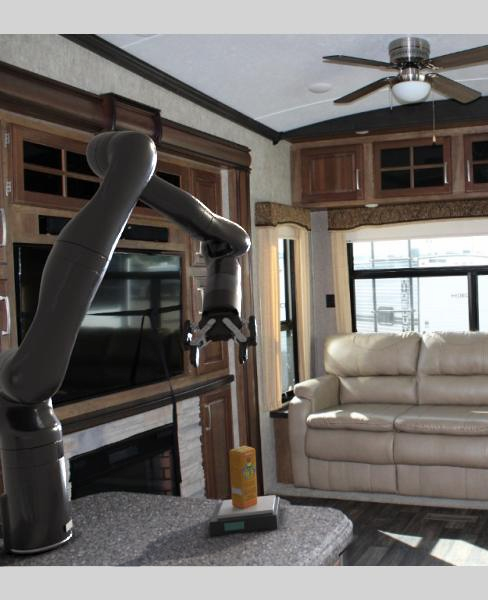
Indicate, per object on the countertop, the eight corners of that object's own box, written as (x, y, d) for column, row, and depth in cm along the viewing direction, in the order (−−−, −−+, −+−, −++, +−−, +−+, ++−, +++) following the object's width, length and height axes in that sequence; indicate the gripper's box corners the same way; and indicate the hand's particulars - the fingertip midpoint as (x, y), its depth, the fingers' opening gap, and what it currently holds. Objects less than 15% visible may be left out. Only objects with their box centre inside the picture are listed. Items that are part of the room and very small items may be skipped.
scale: (210, 536, 111) (208, 519, 111) (218, 516, 120) (216, 500, 120) (277, 529, 113) (276, 511, 113) (280, 509, 122) (278, 493, 122)
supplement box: (244, 510, 114) (240, 452, 114) (231, 506, 116) (227, 449, 116) (259, 503, 117) (255, 447, 116) (246, 500, 119) (242, 444, 118)
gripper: (182, 289, 134) (175, 353, 123) (255, 285, 136) (254, 348, 125) (189, 314, 139) (183, 377, 129) (259, 309, 141) (258, 372, 130)
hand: (218, 363), depth 127 cm, fingers open, 8 cm apart
